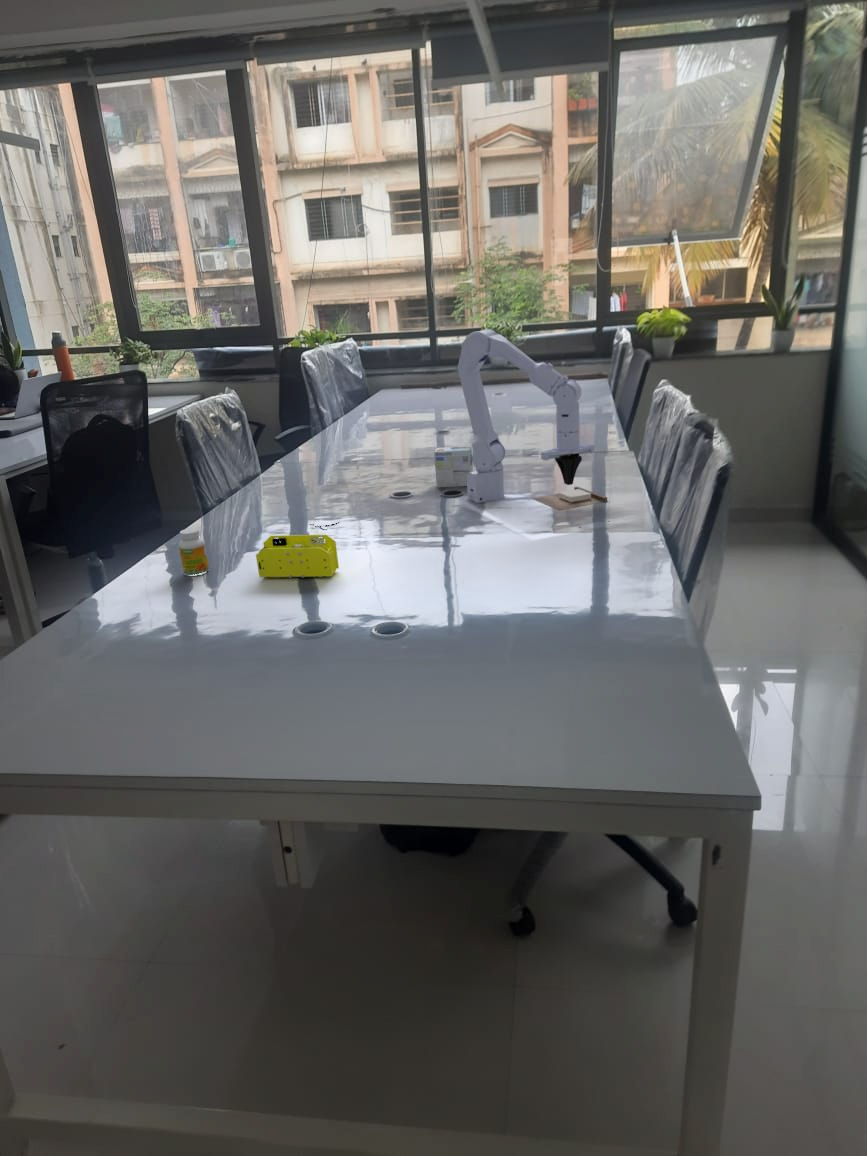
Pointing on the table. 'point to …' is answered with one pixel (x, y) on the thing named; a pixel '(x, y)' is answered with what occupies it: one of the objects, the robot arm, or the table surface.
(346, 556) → the table surface
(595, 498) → the board
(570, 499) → the tile
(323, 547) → the yellow toy chassis
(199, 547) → the supplement bottle
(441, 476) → the light bulb box
